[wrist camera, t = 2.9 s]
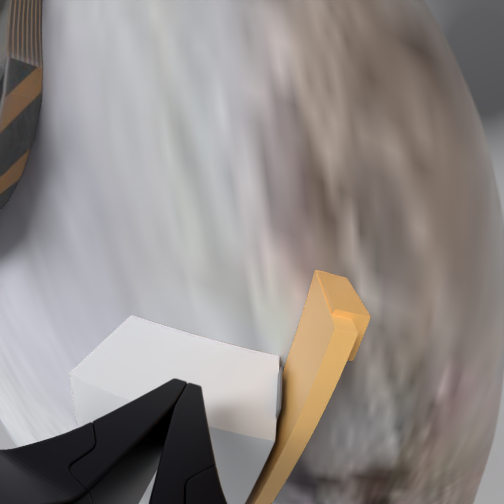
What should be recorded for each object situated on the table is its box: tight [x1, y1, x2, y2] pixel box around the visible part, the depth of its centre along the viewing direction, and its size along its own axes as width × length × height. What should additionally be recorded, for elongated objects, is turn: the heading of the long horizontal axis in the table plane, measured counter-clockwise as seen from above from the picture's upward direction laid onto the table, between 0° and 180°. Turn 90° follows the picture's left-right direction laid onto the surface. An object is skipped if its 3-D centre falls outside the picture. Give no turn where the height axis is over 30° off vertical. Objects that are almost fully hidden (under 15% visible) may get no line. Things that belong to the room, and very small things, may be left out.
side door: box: [245, 270, 371, 504], centre depth 13 cm, size 15×1×6 cm, turn 167°
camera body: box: [69, 315, 282, 504], centre depth 13 cm, size 12×8×7 cm, turn 167°
